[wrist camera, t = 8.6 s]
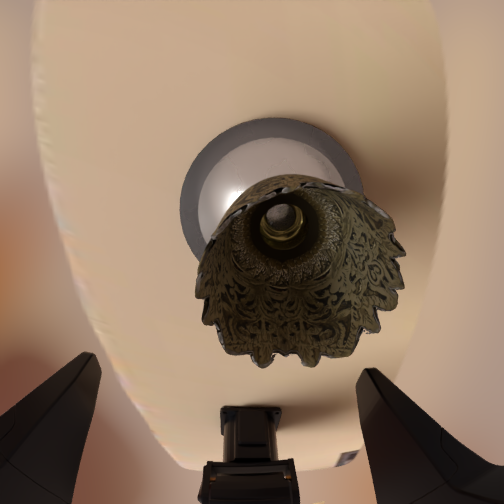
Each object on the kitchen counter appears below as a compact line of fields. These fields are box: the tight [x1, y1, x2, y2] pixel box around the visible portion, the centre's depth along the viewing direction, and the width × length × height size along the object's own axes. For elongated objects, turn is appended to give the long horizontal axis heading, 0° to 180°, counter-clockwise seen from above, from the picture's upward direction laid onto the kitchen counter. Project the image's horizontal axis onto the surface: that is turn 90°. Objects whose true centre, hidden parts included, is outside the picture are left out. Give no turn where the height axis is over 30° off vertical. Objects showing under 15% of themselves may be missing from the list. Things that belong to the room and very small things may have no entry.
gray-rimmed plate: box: [180, 118, 364, 262], centre depth 17 cm, size 11×11×1 cm
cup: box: [195, 174, 406, 368], centre depth 13 cm, size 8×7×8 cm
